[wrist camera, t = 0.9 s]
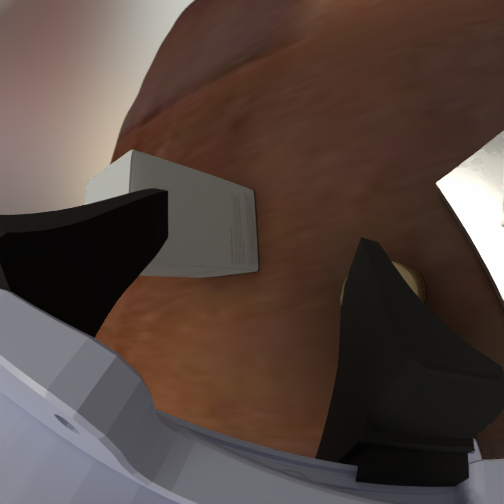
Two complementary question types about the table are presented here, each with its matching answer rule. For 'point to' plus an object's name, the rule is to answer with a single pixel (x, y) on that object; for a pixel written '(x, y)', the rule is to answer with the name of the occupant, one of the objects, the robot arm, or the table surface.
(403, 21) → the table surface
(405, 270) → the bushing
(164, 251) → the supplement box
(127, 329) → the table surface
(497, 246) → the jig
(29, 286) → the robot arm
